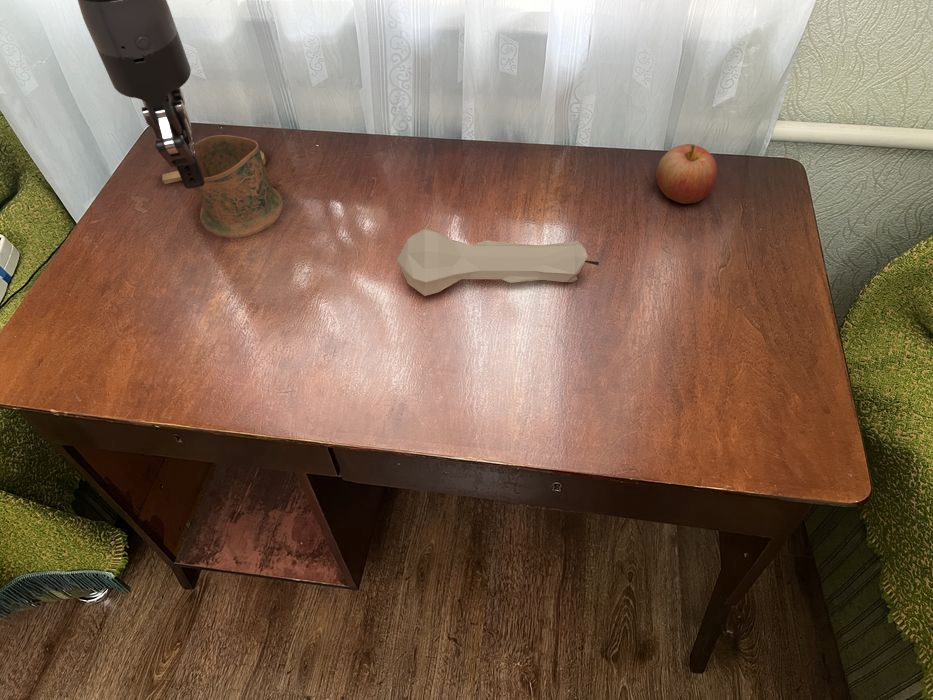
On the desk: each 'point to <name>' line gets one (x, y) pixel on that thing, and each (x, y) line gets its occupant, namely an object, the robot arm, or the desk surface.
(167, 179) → the spoon
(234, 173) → the mug
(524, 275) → the faceted club
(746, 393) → the desk surface
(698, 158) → the apple
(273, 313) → the desk surface
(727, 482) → the desk surface
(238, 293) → the desk surface
